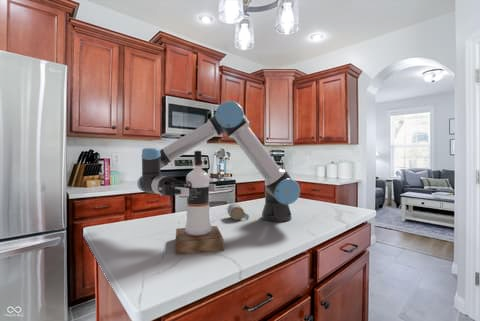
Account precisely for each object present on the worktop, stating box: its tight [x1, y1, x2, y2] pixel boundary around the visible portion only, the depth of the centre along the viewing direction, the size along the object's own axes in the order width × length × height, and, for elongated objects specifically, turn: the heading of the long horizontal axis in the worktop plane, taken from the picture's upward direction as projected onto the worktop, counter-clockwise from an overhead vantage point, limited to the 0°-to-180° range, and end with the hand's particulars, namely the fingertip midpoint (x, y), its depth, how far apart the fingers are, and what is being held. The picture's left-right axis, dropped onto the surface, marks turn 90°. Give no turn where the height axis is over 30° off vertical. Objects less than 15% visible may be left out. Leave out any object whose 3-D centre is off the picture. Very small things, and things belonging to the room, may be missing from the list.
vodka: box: [184, 150, 212, 236], centre depth 89 cm, size 9×9×30 cm
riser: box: [174, 225, 225, 256], centre depth 90 cm, size 16×16×4 cm
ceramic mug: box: [227, 202, 250, 221], centre depth 126 cm, size 11×8×8 cm
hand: (202, 190), depth 88 cm, fingers open, 13 cm apart
